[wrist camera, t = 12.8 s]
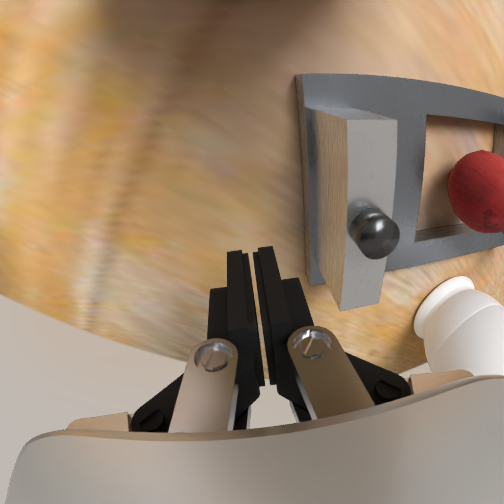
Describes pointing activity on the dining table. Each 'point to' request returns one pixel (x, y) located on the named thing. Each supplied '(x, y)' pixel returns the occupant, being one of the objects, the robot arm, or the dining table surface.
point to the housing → (408, 156)
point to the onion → (479, 191)
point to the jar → (462, 329)
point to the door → (354, 201)
